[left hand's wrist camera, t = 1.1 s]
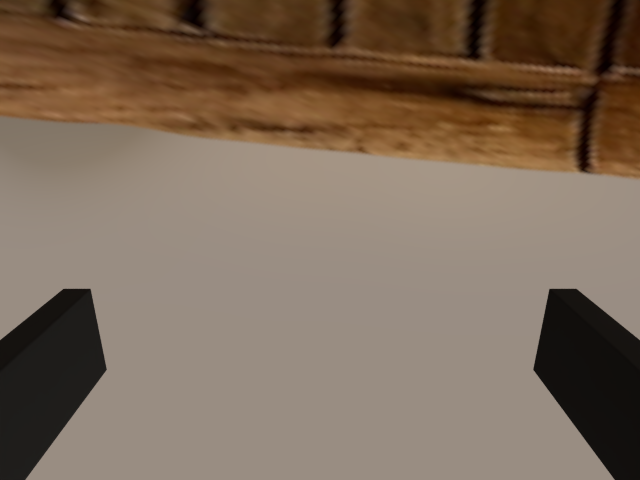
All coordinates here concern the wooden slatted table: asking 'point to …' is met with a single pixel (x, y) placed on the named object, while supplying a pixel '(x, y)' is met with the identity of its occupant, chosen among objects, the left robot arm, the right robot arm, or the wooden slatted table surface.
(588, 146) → the wooden slatted table surface
